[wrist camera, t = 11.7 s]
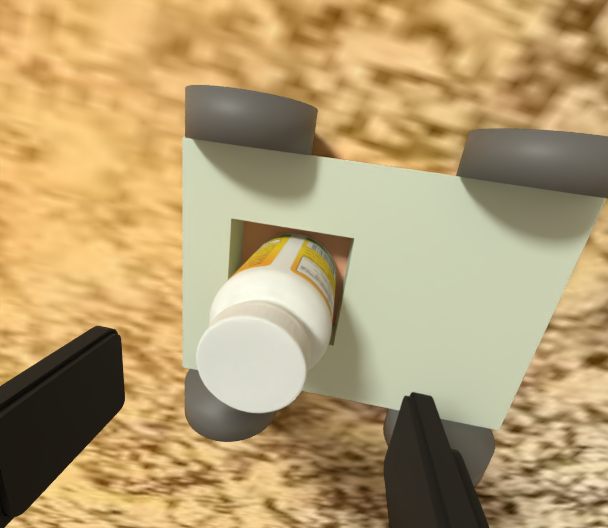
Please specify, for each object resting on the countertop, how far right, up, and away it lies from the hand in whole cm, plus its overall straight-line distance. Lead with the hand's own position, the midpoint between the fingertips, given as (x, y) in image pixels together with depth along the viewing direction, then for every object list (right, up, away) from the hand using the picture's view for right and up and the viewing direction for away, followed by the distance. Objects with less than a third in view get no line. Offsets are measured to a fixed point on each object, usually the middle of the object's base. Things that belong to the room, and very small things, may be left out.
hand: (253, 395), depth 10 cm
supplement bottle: (+1, +4, +10) cm, 11 cm away
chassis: (+5, +3, +10) cm, 11 cm away
